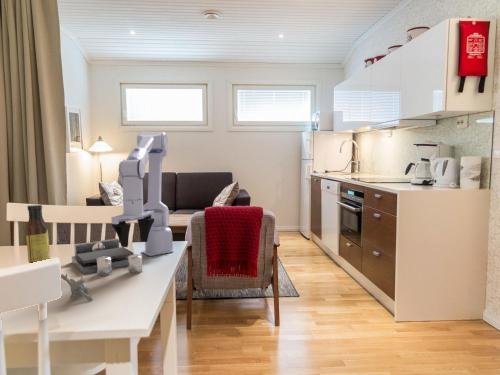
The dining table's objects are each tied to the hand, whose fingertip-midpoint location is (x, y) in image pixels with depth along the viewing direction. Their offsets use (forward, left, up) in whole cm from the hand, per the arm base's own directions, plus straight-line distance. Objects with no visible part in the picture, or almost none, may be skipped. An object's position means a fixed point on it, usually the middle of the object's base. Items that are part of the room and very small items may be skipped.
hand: (134, 244), depth 108 cm
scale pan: (+5, -14, -6) cm, 15 cm away
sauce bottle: (+22, -28, -9) cm, 37 cm away
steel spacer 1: (+8, -4, -9) cm, 12 cm away
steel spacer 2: (0, 0, -9) cm, 9 cm away
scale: (+5, -16, -9) cm, 19 cm away
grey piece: (+19, +11, -9) cm, 24 cm away
